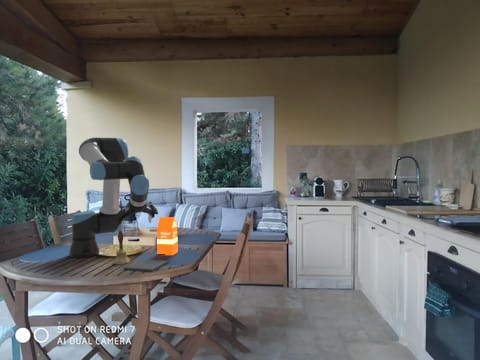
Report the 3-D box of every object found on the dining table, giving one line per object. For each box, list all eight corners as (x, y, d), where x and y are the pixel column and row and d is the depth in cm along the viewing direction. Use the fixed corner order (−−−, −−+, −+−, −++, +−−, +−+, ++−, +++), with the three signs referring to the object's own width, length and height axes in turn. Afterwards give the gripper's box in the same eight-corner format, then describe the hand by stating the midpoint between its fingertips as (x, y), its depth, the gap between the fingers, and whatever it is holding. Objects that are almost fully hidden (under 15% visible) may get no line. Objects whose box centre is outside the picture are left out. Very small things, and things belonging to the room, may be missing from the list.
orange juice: (172, 255, 193) (171, 218, 192) (157, 254, 194) (156, 218, 193) (177, 251, 200) (177, 216, 199) (163, 251, 202) (162, 215, 201)
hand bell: (114, 265, 175) (113, 232, 174) (111, 261, 182) (111, 230, 181) (131, 263, 178) (131, 231, 178) (128, 259, 186) (127, 228, 185)
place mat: (123, 269, 168) (123, 267, 168) (141, 260, 182) (141, 258, 182) (152, 271, 163) (152, 269, 163) (168, 262, 178) (168, 260, 178)
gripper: (110, 212, 156) (111, 234, 172) (167, 203, 166) (162, 224, 183) (107, 198, 159) (108, 221, 176) (163, 189, 170) (158, 212, 186)
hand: (135, 223), depth 179 cm, fingers open, 13 cm apart
